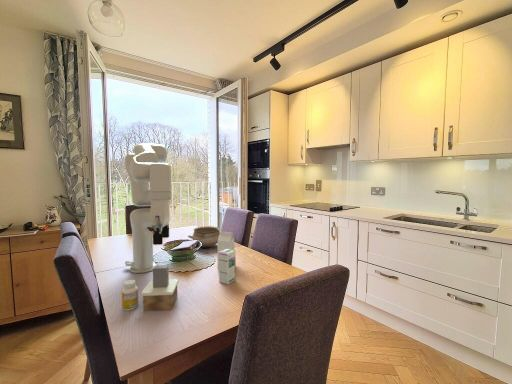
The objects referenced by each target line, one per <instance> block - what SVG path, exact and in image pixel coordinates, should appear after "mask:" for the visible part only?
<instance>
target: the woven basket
mask: <svg viewBox="0 0 512 384" xmlns="http://www.w3.org/2000/svg"><path fill="white" fill-rule="evenodd" d="M220 232H221V231H220V228H219V226H218V227H217V226H207V225H206V226H199V227H195V228H193V234H192V235H187V238H189V239H192V241H193V240H199V241H200V242H201V243H202V246H201V248H203V249H210V248H212V247H213V246H215V245H218V237H219V234H220Z"/></svg>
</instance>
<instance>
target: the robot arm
mask: <svg viewBox="0 0 512 384" xmlns="http://www.w3.org/2000/svg"><path fill="white" fill-rule="evenodd" d="M167 157H168V152H167V148H166V147H165V146H164V145H162V144H158V143H157V144H156V143H147V142H146V143H139V144H137V145H136V146H135V147H134V149H133V153H128V154H126V155H125V156H124V168H125V170H126V172H127V175H128V177H129V179H130V189H131V190H130V191H131V201H132V204H133V205H134V206H136V207H148V208H138V209H133V210H132V211H131V212H130V214H129V222H130V227H131V232H132V233H131V235H132V236H131V237H132V260H126V261H124V262H125V263H124V264H125V266H126V267H129V266H130V267H129V270H130V272H131V273H135V274H142V273H145V274H146V273H149V272H153V268H154V266H157V264H156V263H155V262H154V246H159V245H160V246H161V245H163V244H164V243H163V239H165V238H166V239H167V238H169V237H170V224H169V223H170V218H171V217H170V216H171V214H170V211H171V210H170V201H172V172H171V171H172V170H171V169H172V167H171V165H170V164H169V163H167V162H166V161H167V159H168V158H167ZM165 162H166V163H165ZM149 207H150V208H149ZM149 228H152V231H150V229H149Z"/></svg>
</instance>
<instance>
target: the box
mask: <svg viewBox="0 0 512 384" xmlns="http://www.w3.org/2000/svg"><path fill="white" fill-rule="evenodd" d="M177 299H178V285H177V286H176V288H175V290H174V292H173V294H172V295H153V296H142V308H143V309H142V310H143V312H152V311H153V312H154V311H155V312H156V311H171V310H173V308H174V304H176V301H177Z"/></svg>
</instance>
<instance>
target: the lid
mask: <svg viewBox="0 0 512 384" xmlns="http://www.w3.org/2000/svg"><path fill="white" fill-rule="evenodd" d="M169 272H170V271H169V265H168V264H165V265H163V264H162V265H161V264H160V265H158V264H156V266H154V268H153V270H152V279H150V281H149V282H148V283H147V285H146V286H145V287H144V288H143V290H142V291H141V292H140V296H141V297H143V296H153V295H172V294H173V292H174V290H175V288H176V286H177V287H178V284H179V280H180V279H178V278H177V279H176V278H174V279H169V274H170V273H169Z"/></svg>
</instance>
